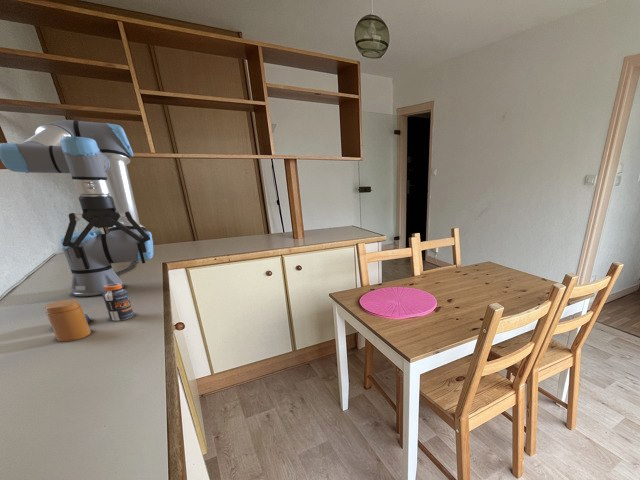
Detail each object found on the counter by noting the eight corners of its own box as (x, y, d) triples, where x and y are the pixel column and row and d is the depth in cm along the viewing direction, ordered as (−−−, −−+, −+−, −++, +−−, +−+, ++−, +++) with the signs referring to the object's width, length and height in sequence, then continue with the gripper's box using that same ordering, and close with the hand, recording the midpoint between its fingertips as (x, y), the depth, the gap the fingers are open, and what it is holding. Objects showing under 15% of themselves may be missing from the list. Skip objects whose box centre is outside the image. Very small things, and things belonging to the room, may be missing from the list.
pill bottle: (120, 322, 99) (109, 288, 95) (105, 320, 100) (94, 286, 96) (138, 314, 105) (129, 282, 101) (124, 312, 106) (114, 281, 102)
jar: (62, 333, 92) (49, 301, 88) (94, 328, 95) (83, 297, 91) (52, 343, 86) (38, 310, 82) (86, 338, 89) (74, 305, 86)
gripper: (29, 196, 82) (59, 273, 90) (148, 195, 97) (165, 262, 104) (36, 195, 88) (63, 268, 95) (148, 194, 102) (164, 258, 110)
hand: (116, 265), depth 100 cm, fingers open, 13 cm apart
